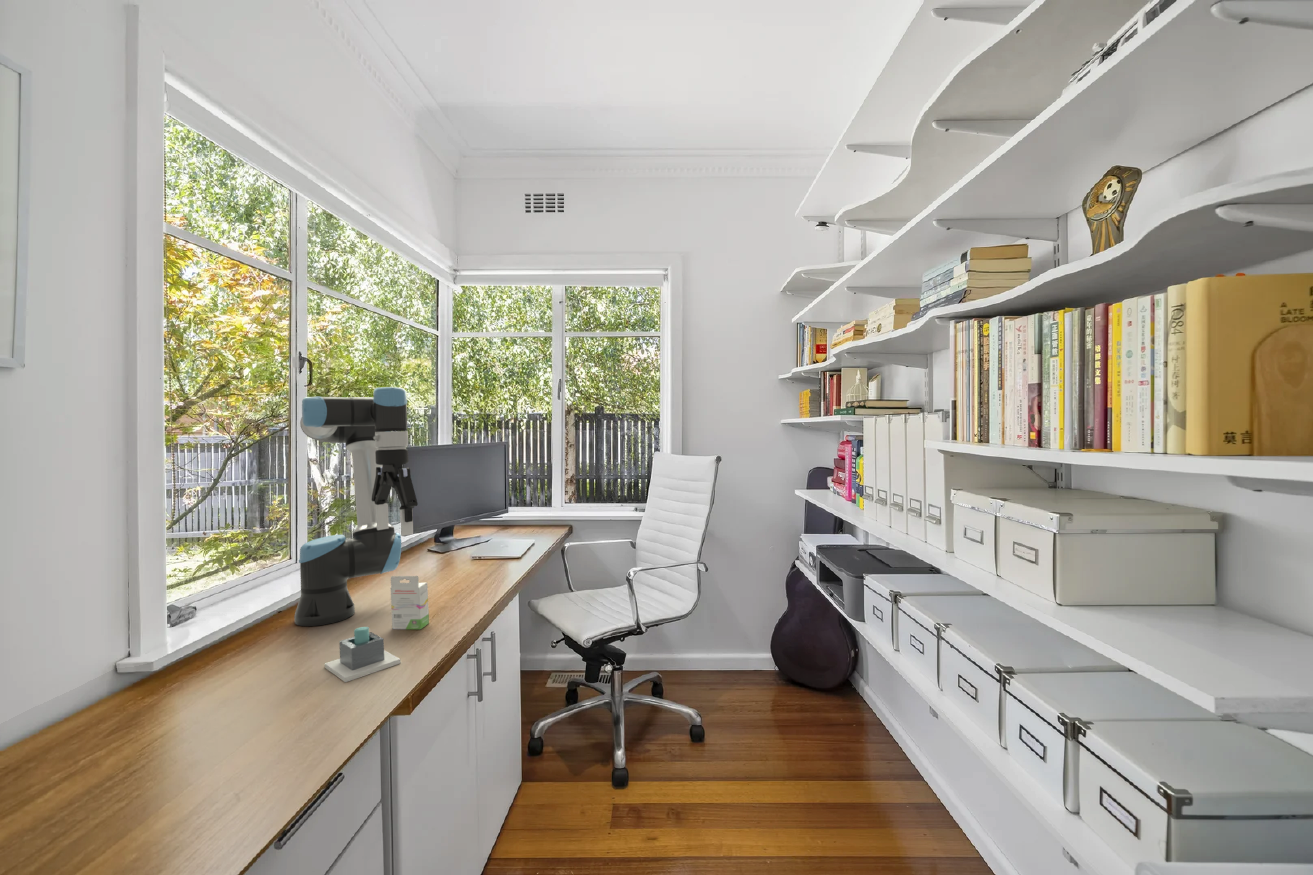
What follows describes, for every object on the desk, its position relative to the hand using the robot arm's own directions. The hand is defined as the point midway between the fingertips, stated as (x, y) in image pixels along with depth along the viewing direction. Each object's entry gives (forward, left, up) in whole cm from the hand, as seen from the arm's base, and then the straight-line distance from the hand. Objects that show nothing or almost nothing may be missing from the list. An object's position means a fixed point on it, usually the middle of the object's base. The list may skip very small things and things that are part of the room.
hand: (394, 532), depth 139 cm
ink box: (-10, +8, -29) cm, 32 cm away
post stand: (+6, -11, -29) cm, 31 cm away
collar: (+6, -11, -28) cm, 30 cm away
